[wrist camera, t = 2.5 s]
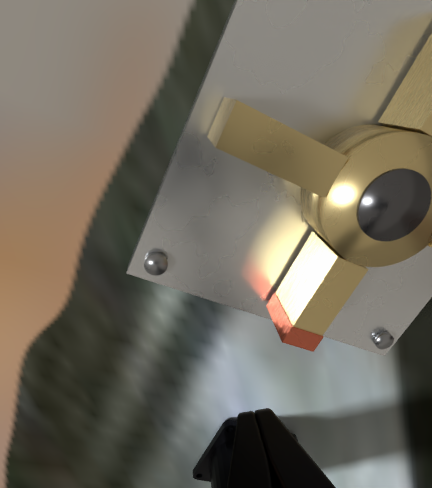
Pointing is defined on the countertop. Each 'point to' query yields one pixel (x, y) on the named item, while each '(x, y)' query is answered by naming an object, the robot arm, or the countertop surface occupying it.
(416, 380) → the countertop surface
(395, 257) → the brass cross latch
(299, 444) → the robot arm
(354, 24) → the flange plate
